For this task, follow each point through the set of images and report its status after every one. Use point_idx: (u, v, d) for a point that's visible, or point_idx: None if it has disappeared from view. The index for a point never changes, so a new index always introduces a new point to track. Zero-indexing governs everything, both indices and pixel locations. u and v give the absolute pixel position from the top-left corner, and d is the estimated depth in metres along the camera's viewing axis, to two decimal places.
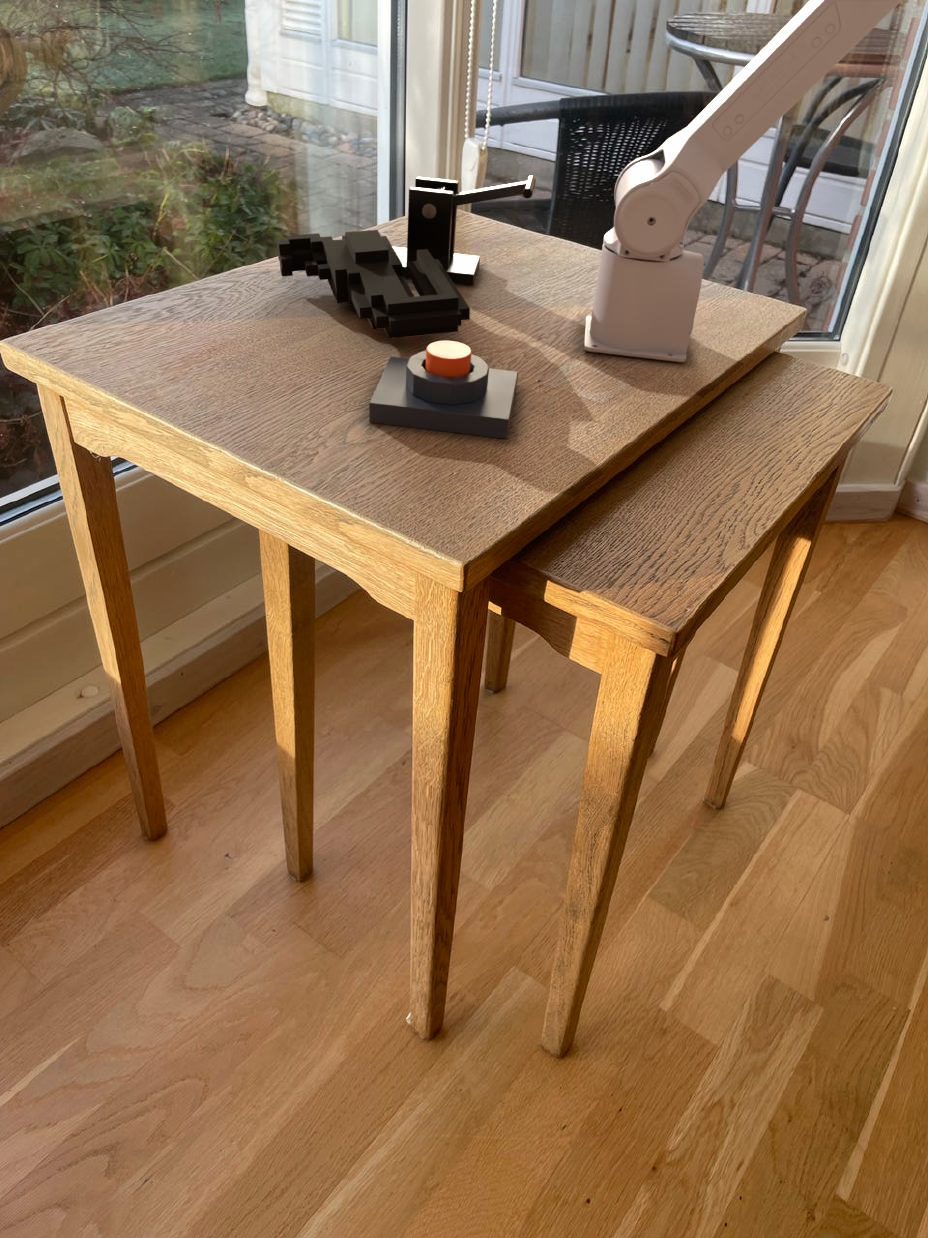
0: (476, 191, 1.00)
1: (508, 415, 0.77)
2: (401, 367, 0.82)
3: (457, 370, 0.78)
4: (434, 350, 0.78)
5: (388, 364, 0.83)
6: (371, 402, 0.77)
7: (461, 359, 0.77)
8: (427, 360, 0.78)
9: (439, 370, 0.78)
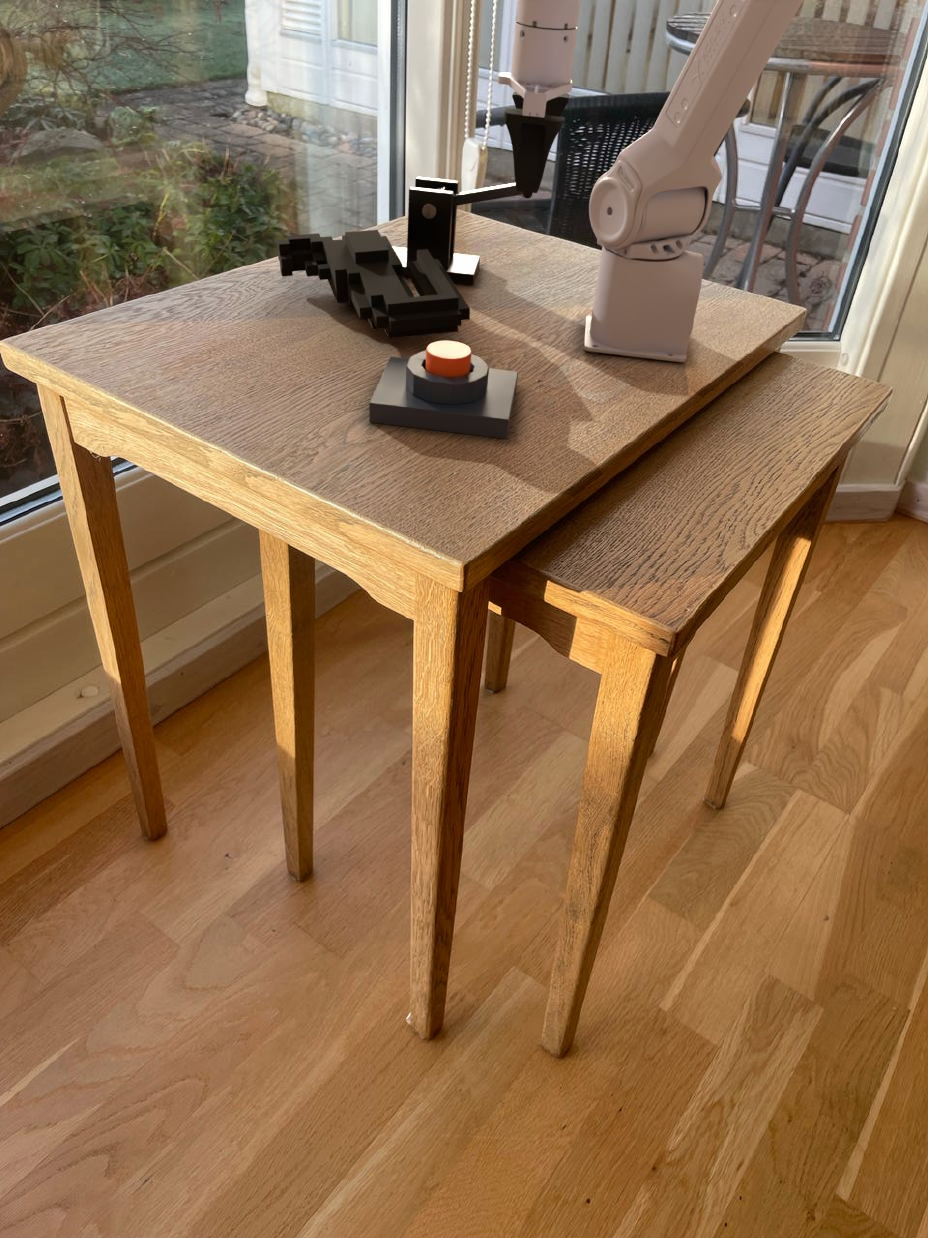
0: (476, 191, 1.00)
1: (508, 415, 0.77)
2: (401, 367, 0.82)
3: (457, 370, 0.78)
4: (434, 350, 0.78)
5: (388, 364, 0.83)
6: (371, 402, 0.77)
7: (461, 359, 0.77)
8: (427, 360, 0.78)
9: (439, 370, 0.78)
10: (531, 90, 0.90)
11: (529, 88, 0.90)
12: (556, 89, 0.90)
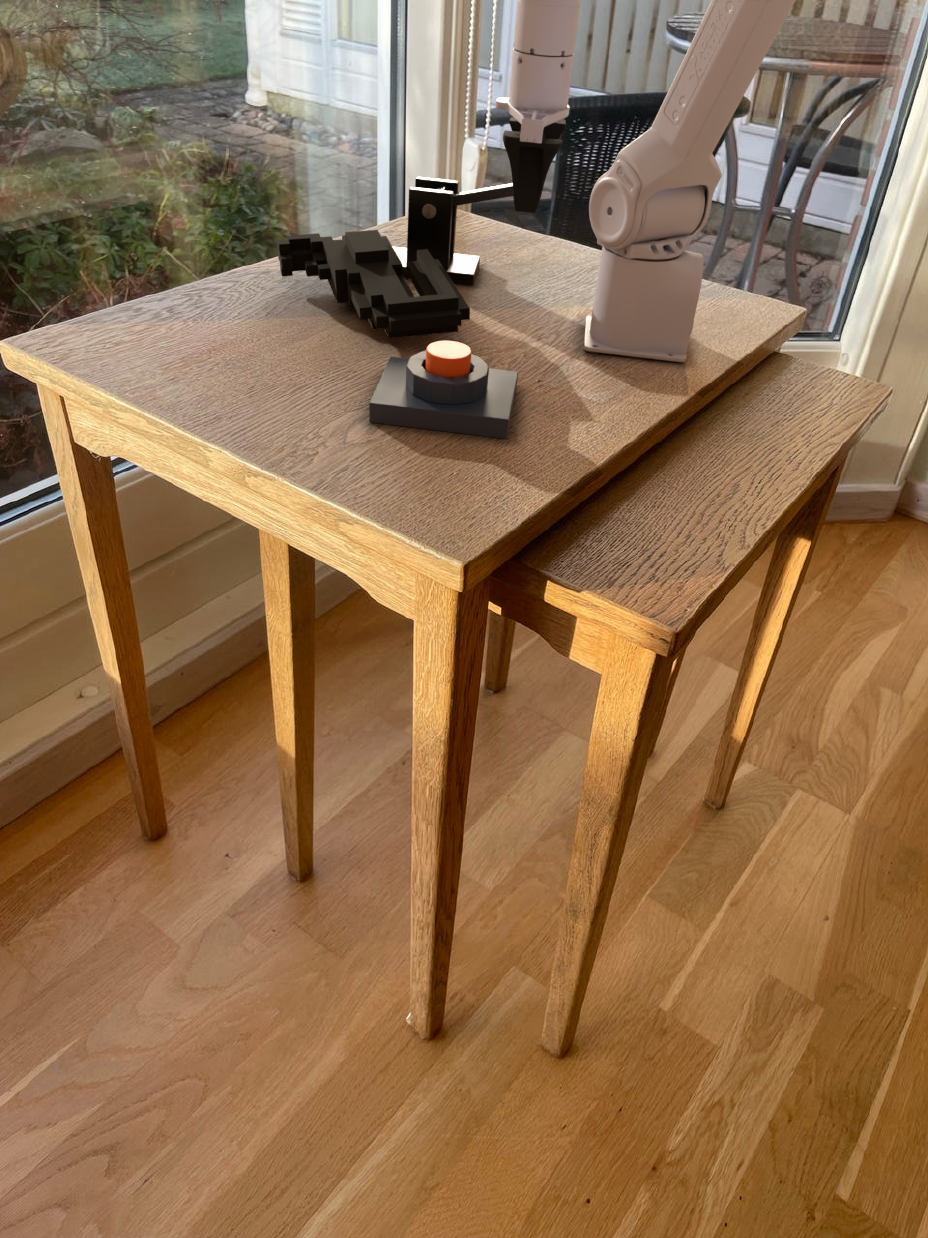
0: (476, 191, 1.00)
1: (508, 415, 0.77)
2: (401, 367, 0.82)
3: (457, 370, 0.78)
4: (434, 350, 0.78)
5: (388, 364, 0.83)
6: (371, 402, 0.77)
7: (461, 359, 0.77)
8: (427, 360, 0.78)
9: (439, 370, 0.78)
10: (528, 116, 0.91)
11: (527, 114, 0.91)
12: (553, 115, 0.91)
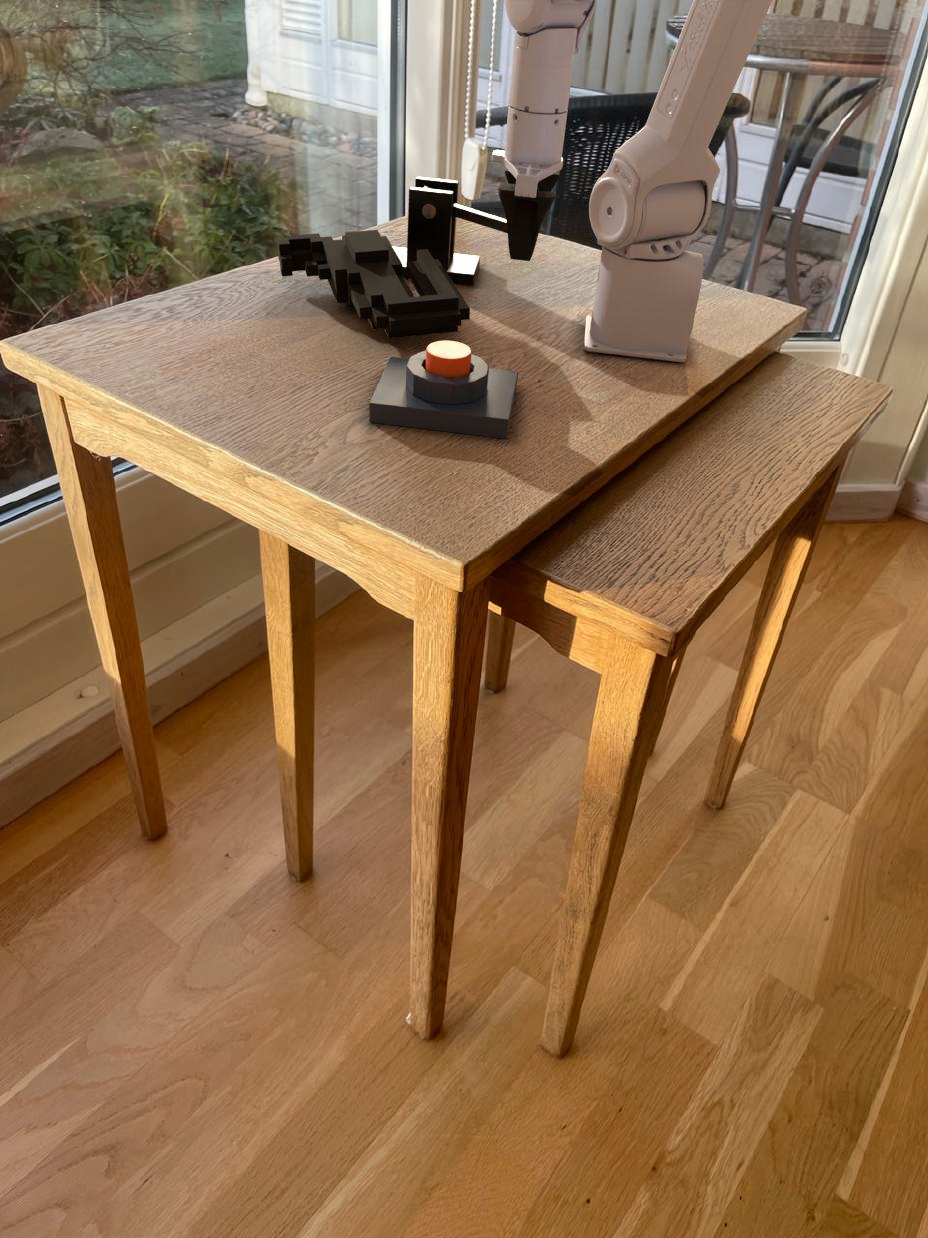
0: (477, 213, 1.01)
1: (508, 415, 0.77)
2: (401, 367, 0.82)
3: (457, 370, 0.78)
4: (434, 350, 0.78)
5: (388, 364, 0.83)
6: (371, 402, 0.77)
7: (461, 359, 0.77)
8: (427, 360, 0.78)
9: (439, 370, 0.78)
10: (523, 171, 0.94)
11: (521, 169, 0.94)
12: (547, 169, 0.94)
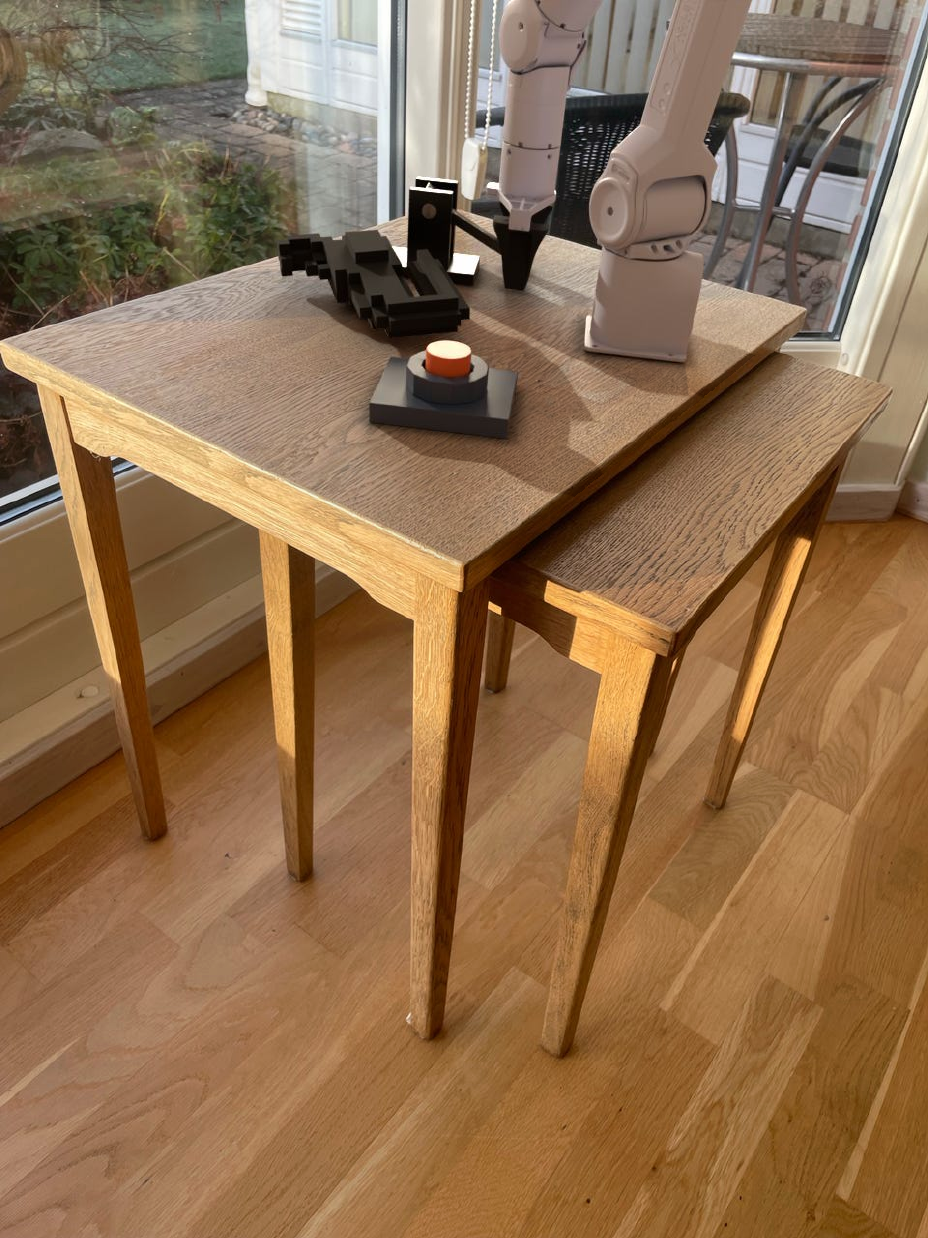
0: (473, 225, 1.02)
1: (508, 415, 0.77)
2: (401, 367, 0.82)
3: (457, 370, 0.78)
4: (434, 350, 0.78)
5: (388, 364, 0.83)
6: (371, 402, 0.77)
7: (461, 359, 0.77)
8: (427, 360, 0.78)
9: (439, 370, 0.78)
10: (517, 204, 0.96)
11: (515, 203, 0.96)
12: (540, 203, 0.96)
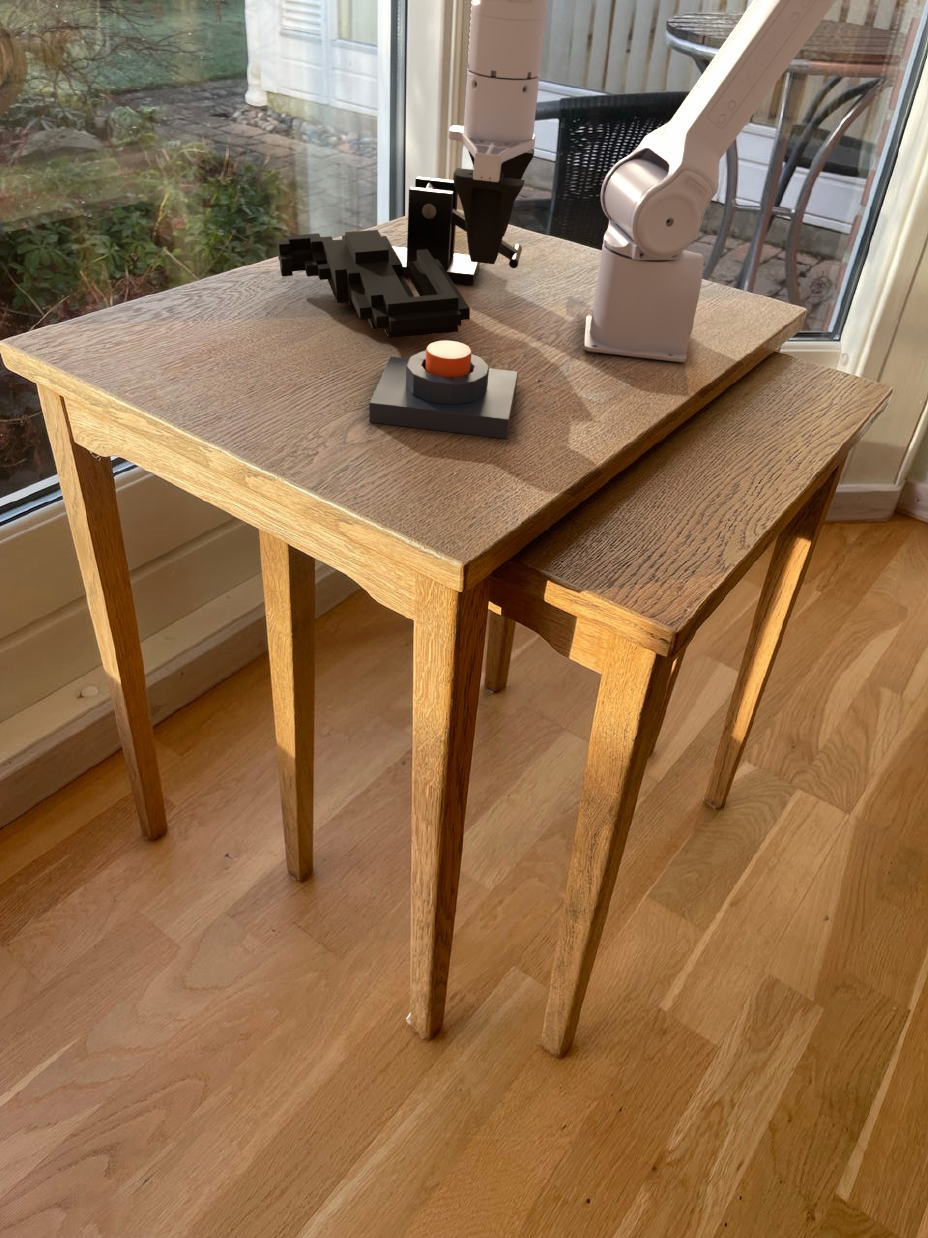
0: None
1: (508, 415, 0.77)
2: (401, 367, 0.82)
3: (457, 370, 0.78)
4: (434, 350, 0.78)
5: (388, 364, 0.83)
6: (371, 402, 0.77)
7: (461, 359, 0.77)
8: (427, 360, 0.78)
9: (439, 370, 0.78)
10: (484, 149, 0.77)
11: (482, 147, 0.77)
12: (514, 148, 0.77)
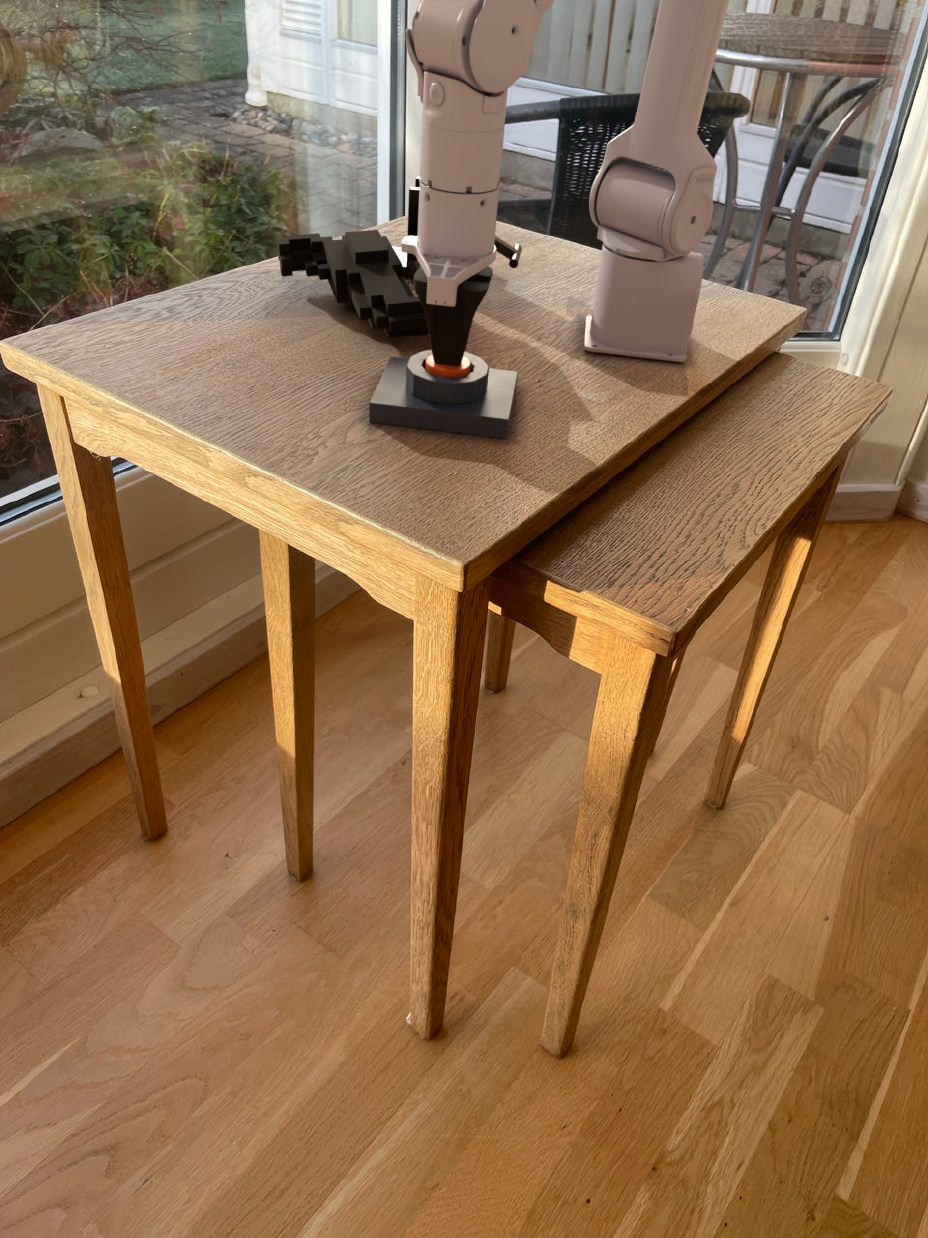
0: None
1: (508, 415, 0.77)
2: (401, 367, 0.82)
3: None
4: None
5: (388, 364, 0.83)
6: (371, 402, 0.77)
7: (461, 371, 0.78)
8: None
9: None
10: (439, 269, 0.70)
11: (436, 267, 0.70)
12: (472, 267, 0.70)
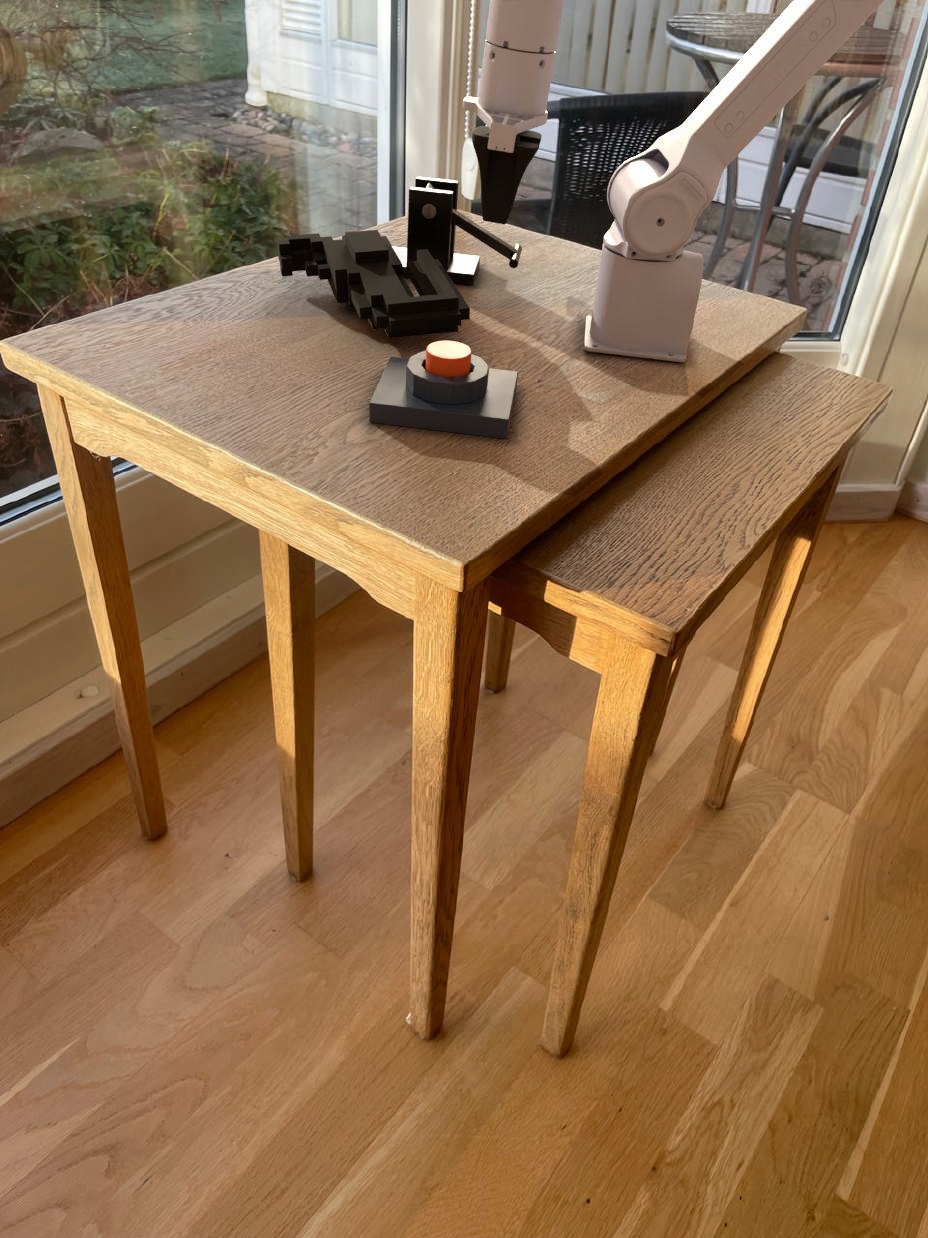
0: (474, 224, 1.02)
1: (508, 415, 0.77)
2: (401, 367, 0.82)
3: (457, 370, 0.78)
4: (434, 350, 0.78)
5: (388, 364, 0.83)
6: (371, 402, 0.77)
7: (461, 359, 0.77)
8: (427, 360, 0.78)
9: (439, 370, 0.78)
10: (499, 120, 0.78)
11: (497, 118, 0.78)
12: (528, 121, 0.78)
